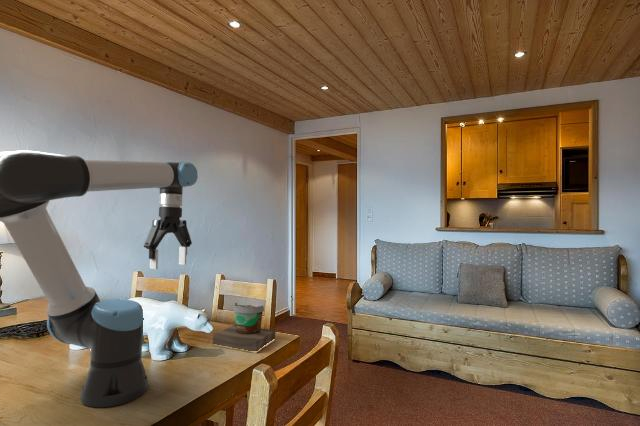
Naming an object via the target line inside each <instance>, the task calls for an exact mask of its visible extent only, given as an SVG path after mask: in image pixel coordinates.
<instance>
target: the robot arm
mask: <svg viewBox="0 0 640 426" xmlns="http://www.w3.org/2000/svg"><path fill="white" fill-rule="evenodd" d="M197 181H198V169H197V167H196V166H195V165H194V164H193V163H191V162H186V161H181V162H173V161H135V160H134V161H128V160H94V159H93V160H92V159H89V160H88V159H85V158H83V157H82V156H80V155H69V154H59V153H51V152H50V153H49V152H42V151H35V150H27V149H26V150H14V151H0V222H1V223H3V224H4V226H5V227H6V229H7V231H8V233H9V235H10V237H11V238H12V240H13V242H14V244H15V246H16V247H17V249H18V251H19V252H20V254H21V255H22V257H23V259H24V262H26V264H27V267H28V268H29V270H30V271H31V272H30V273H32V275H33V277H34V278H35V280H36V282H37V284H38V285H39V287H40V289H41V291H42V292H43V294H44V296H45V298H46V300H47V301H48V305H47V307H46V309H45V312H46V314H47V316H48V319H47V320H46V328H47V331H48V333H49V334H50V335H51V337H52V338H54V339H55V340H57V341H59V342H61V343H63V344H68V345H73V346H78V347H82V348H87V349H90V364H89V365H90V366H89V368H88V369H89V370H88V372H87V375H86V377H85V381H84V384H83V385H82V388H81V390H80V402H81V403H82V404H83V405H84V406H87V407H91V408H109V407H115V406H120V405H123V404H126V403H129V402H132V401H134V400H136V399H139V398H140V397H141V396H143V395H144V394H145V393H146V392H147V390H148V387H149V386H148V385H149V379H148V376H147V374H146V369H145V365H144V362H143V360H142V352H143V340H142V336H143V320H144V318H143V309H142V307H143V306H142V305H141V304H140V303H139V302H138V301H135V300H132V299H127V298H123V299H120V298H109V299H103V300H101V299H100V298H99V295H98V293H97V292H96V289H95V288H94V287H91V286H86V284H85V283H84V281H83V278H82V276H81V275H80V273H79V271H78V268H77V267H76V264H75V262H74V261H73V259H72V257H71V255H70V254H69V253H70V252H69V251H68V249H67V247H66V245H65V244H64V241H63V239H62V237H61V235H60V233H59V231H58V230H57V228H56V225H55V224H54V222H53V220H52V217H51V216H50V213H49V212H48V209H47V206H48V205H49V203H50V201H53V200H60V199H65V198H73V197H83V196H84V195H86V194H87V193H88V192H104V191H105V192H106V191H120V190H121V191H122V190H124V191H125V190H135V189H137V190H139V189H140V190H141V189H154V188H156V189H159V199H158V201H159V203H158V204H159V207H158V217H159V218H160V219H153V220H152V224H151V228H150V229H149V232H148V234H147V236H146V239H145V241H144V244H143V247H144V248H145V249H146V250H148V259H149V269H151V270H158V268H159V267H158V265H159V249H157V248H158V247H159V245H160V244H161V242H162V241H163V239H164V237H165V236H166V235H167V234H170V233H171V234H173V235H174V236H175V238H176V240H177V241H178V243H179V244H180V246H179V247H178V248H179V250H178V252H179V253H178V265H181V266H182V265H183V266H186V265H187V255H188V248H189V247H190V246H191V245H192V243H193V242H192V239H191V236H190V232H189V229H188V227H187V225H188V224H187V220H185V219H181V218H182V217H183V207H182V206H183V189H184V188H186V187H192V186H193V185H195V184H196V183H197Z"/></svg>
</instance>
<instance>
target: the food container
mask: <svg viewBox="0 0 640 426" xmlns="http://www.w3.org/2000/svg"><path fill="white" fill-rule="evenodd" d="M232 311H233V312H234V316H235V318H234V319H235V320H234V321H235V325H236V332H237V333H239V334H246V335H248V334H256V333H259V332H260V329H261V328H262V320H263V312H264V311H265V308H264V305H259V306H254V305H249V304H247V305H241V304H238V302H235V303H234V305H233V308H232Z"/></svg>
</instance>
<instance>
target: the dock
mask: <svg viewBox="0 0 640 426" xmlns="http://www.w3.org/2000/svg"><path fill="white" fill-rule="evenodd" d="M276 332H277V331H276V330H275V329H270V328H262V327H261V329H260V332H259V333H256V334H248V335H246V334H239V333H237V332H236V324H233V325H231V326H229V327H227V328H225V329H222V330H220V331H218V332H216V333H214V334H212V345H213V344H217V345H222V346H228V347H232V348H238V349H244V350H248V351H258V350H259V349H260V348H262V347H263V346H264V345H266V344H267V343H269V342H270V341H272V340H273V339H275V340H276Z"/></svg>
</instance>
